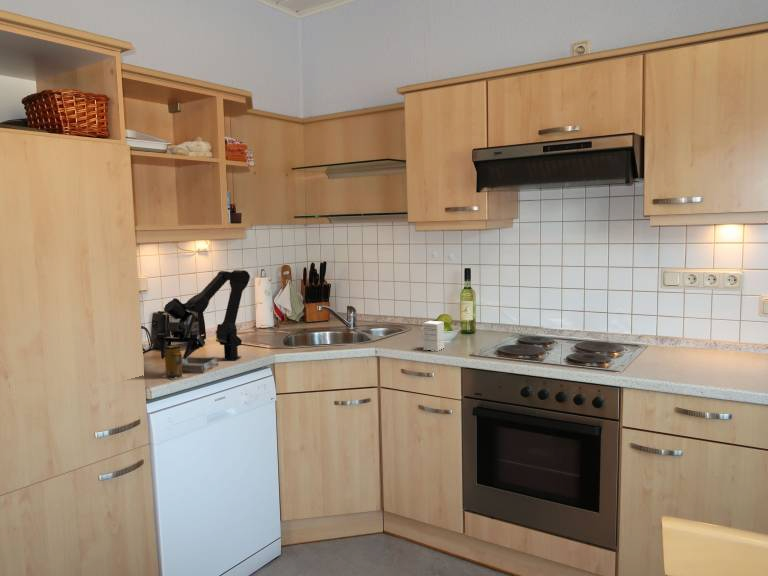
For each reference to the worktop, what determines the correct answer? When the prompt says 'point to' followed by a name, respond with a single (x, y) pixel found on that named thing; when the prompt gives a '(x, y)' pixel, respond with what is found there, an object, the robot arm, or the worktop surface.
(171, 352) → the condiment
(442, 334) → the supplement box
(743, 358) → the worktop surface
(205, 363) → the grey square frame
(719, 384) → the worktop surface
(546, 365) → the worktop surface
